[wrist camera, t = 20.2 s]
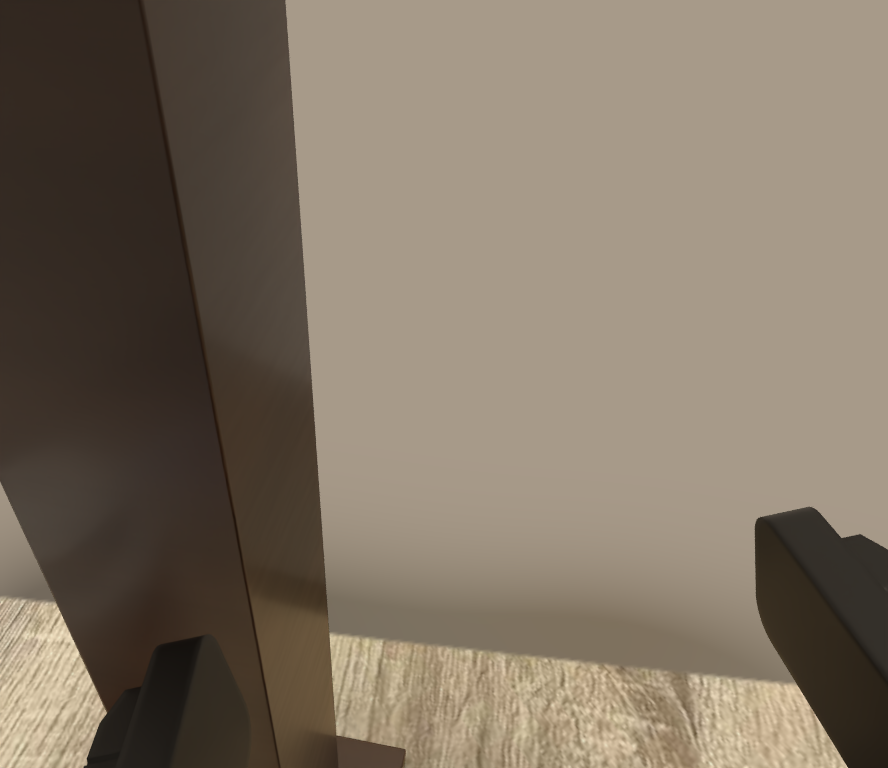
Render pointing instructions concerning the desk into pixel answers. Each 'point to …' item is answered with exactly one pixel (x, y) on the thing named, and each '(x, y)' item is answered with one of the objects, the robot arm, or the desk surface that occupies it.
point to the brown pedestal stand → (166, 351)
